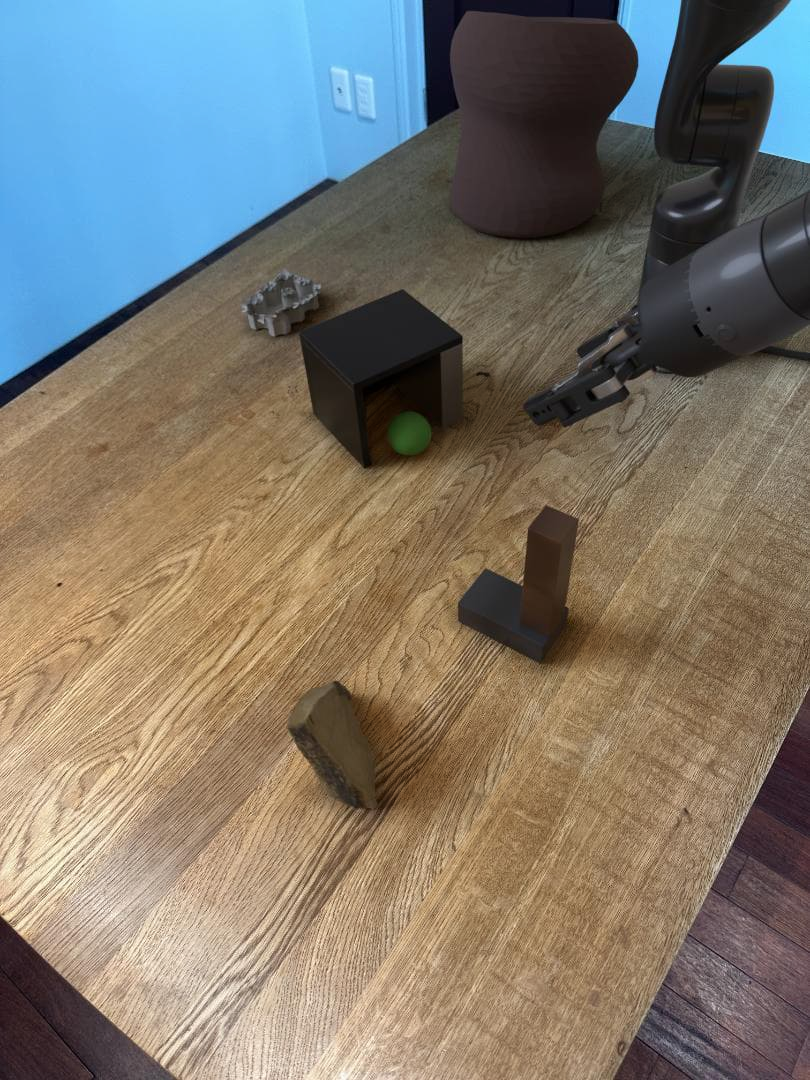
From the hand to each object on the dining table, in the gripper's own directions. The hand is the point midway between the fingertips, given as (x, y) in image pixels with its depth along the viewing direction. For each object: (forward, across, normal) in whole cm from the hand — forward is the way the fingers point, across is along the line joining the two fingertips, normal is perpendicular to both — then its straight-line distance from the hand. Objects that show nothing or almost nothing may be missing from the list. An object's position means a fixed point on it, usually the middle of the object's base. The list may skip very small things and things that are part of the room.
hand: (558, 385), depth 65 cm
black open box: (+35, -10, -4) cm, 37 cm away
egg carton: (+53, -20, -22) cm, 61 cm away
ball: (+29, -7, -1) cm, 30 cm away
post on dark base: (+15, +8, +17) cm, 24 cm away
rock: (+19, +26, +14) cm, 35 cm away
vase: (+44, -66, -13) cm, 80 cm away
